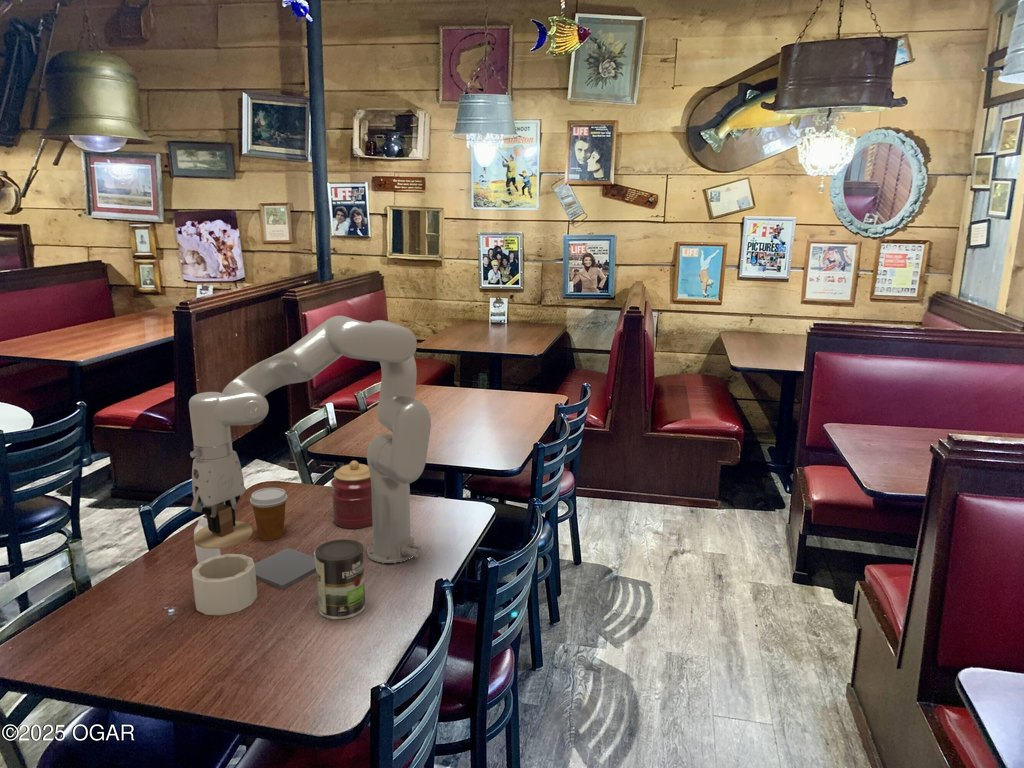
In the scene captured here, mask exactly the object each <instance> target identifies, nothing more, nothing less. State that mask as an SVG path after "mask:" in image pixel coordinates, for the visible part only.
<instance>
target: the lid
mask: <svg viewBox="0 0 1024 768" xmlns="http://www.w3.org/2000/svg"><path fill="white" fill-rule="evenodd" d="M216 516H219V522H220V531H221V532H220V533H219V534H217V533H214V532H211V531H210V530H209V528H208V526H206V527H204V528H202V529H200V530H199V531H198V532H196V534H195V535H194V534H193V543H194V545H195V544H196V545H197V546H199V547H202V548H207V549H219V548H220V549H225V548H229V547H233V546H236V545H239V544H241V543H243V542H245V541H247V540H248V539H249V538H250V537H251V536H252V534H253V528H252V525H250V524H249V523H248V522H244V521H239V520H237V521H236V520H235V523H236V526H234V527H233V519H232V510H231V506H228V505H225V504H224V503H220V504H217V505H216Z"/></svg>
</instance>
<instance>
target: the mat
mask: <svg viewBox="0 0 1024 768" xmlns="http://www.w3.org/2000/svg"><path fill="white" fill-rule="evenodd" d="M254 564H255V573H256V580H258V581H260V582H262V583H265V584H268V585H271V586H273V587H275V588H277V589H281V590H285V589H287V588H288V587H290V586H292V585H294V584H296V583H298V582H299V581H301V580H303V579H305V578H308V577H309V576H311V575H312V574H314V573H317V572H316V566H315V560H314V556H312V555H309V554H306V553H303V552H301V551H298V550H295V549H292V548H290V547H286V548H285V549H282V550H280V551H278V552H276V553H274V554H272V555H270V556H268V557H266V558H265V557H264V559H262V560H259V561H258V562H254Z"/></svg>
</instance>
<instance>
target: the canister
mask: <svg viewBox="0 0 1024 768" xmlns="http://www.w3.org/2000/svg"><path fill="white" fill-rule="evenodd" d="M333 476H334V478H333V479H332V480H331V482H330V485H331V486H332V488H333V489H332V491H331V497H332V518H333V522H334V524H335V525H336V526H338V527H340V528H343V529H344V528H345V529H363V528H366V527H370V526H373V523H372V493H371V479H370V473H369V467H368V464H367V465H366V464H363V463H359V462H358V461H357V460H352V461H350V462H349V464H345V465H342V466H341V467H340V468H338V469H336V471H335V472H333Z"/></svg>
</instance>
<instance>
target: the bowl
mask: <svg viewBox="0 0 1024 768" xmlns="http://www.w3.org/2000/svg"><path fill="white" fill-rule="evenodd" d="M191 576H192V577H191V578H192V584H193V595H194V605H195V608H196V611H198V612H199V613H201V614H204V615H206V616H225V615H229V614H234V613H239V612H241V611H242V610H244V609H246V608H248V607H250V606H251V605H252V604H253V603H254V602H255V600H257V598H258V589H257V588H258V587H257V579H256V573H255V562H254V559H253V557H251V556H248V555H245V554H241V553H239V554H237V553H226V554H221V555H220V556H215V557H211V558H209V559H207V560H204V561H202V562H200V563H198V562H197V564H196V565H195V566H194V567H193V568H192V569H191Z"/></svg>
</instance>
